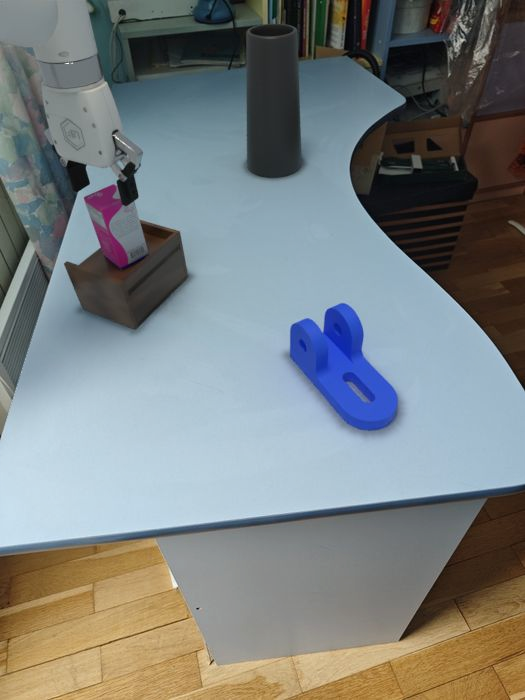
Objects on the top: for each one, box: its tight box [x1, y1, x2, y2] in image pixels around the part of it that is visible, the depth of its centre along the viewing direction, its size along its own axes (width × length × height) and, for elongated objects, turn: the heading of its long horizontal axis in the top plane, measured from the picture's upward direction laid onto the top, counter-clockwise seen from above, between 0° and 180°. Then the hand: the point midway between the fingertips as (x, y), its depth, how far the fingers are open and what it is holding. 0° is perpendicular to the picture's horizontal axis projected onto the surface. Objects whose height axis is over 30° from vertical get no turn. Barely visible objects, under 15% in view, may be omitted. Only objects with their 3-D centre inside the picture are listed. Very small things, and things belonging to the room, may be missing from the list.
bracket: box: [289, 302, 399, 431], centre depth 69 cm, size 18×8×9 cm, turn 30°
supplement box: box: [83, 183, 149, 270], centre depth 79 cm, size 6×6×12 cm
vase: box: [245, 23, 303, 179], centre depth 111 cm, size 14×14×29 cm
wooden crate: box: [63, 219, 189, 330], centre depth 85 cm, size 12×16×10 cm
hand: (105, 194), depth 74 cm, fingers open, 9 cm apart
